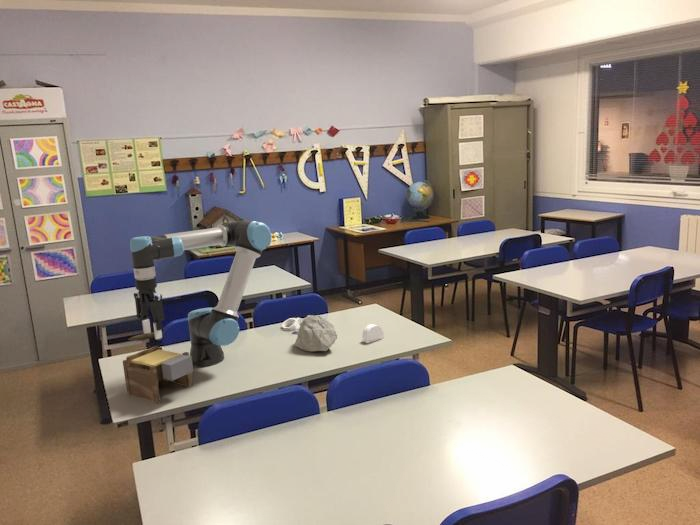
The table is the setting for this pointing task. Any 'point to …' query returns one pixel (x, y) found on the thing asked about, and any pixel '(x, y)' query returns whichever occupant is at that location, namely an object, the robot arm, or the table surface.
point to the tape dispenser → (372, 333)
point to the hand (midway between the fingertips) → (153, 337)
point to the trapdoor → (167, 363)
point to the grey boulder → (315, 334)
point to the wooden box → (148, 377)
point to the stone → (142, 337)
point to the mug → (292, 323)
